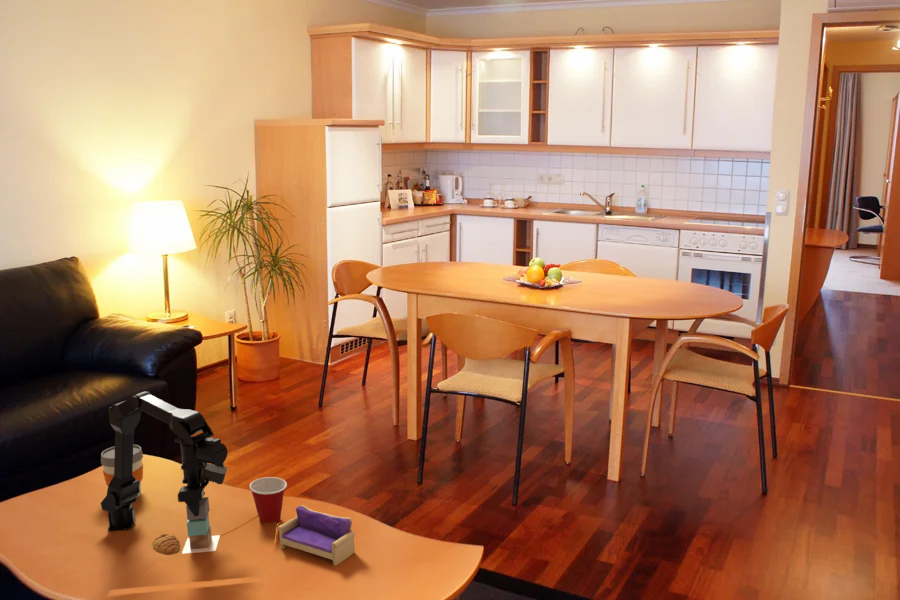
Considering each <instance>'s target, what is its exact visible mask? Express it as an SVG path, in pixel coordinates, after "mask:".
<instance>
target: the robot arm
mask: <svg viewBox="0 0 900 600" xmlns="http://www.w3.org/2000/svg"><path fill="white" fill-rule="evenodd" d="M142 412H144V413H146V414H147V415H149V416H152V417H154V418H155V419H157V420H160V421H161V422H163V423H165V424H167V425H168V426H169V428H170V430H171V432H173V433H174V434H175V435H177V437H176V438H175V439H174V442H175V443H177V444H178V443H179V444H180V451H181V453H180V454H181V465H180V470H182V474H183V478H182V484H183V486H182V487H181V488H180V489H179V491H178V492H177V502H179V503H185V504H186V505H187V506H188V507H189V509H190V510H191V512H192V513H193V515H194V516H198V515H199V506H200V500H202V499H203V497H205V495H206V492H205V488H206V487H207V486H208V484H210V482H211V483H216V485H223V483H224V481H225V477H226V473H227V470H228V468H227V466H226V465H225V463H224V462H225V461H226V459H227V457H228V448H227V447H226V445H225V444H224V443H222V440H221V438H212V437H214V436H215V434H214V433H213V430H212V428H211V426H209V424H208V422H207V421H206V419H205V417H204V415H203V414H202V413H201V412H199V411H197V410H192V409H186V408H185V409H184V408H180V407H179V408H178V407H176V406H175V405H172V404H170V403H168V402H166V401H164V400H163V399H160V398H158V397H156V396H155V395H152V394H151V392H150V391H141V392H138V393H137V394H134V395H132V396H131V397H130V398H128V399H126V400H123V401H120V402H117V403H115V404H112V405H111V406H110V407H109V408H108V420H109V425H110V426H111V427H112V429H113V430H114V446H115V459H114V476H113V478H112V480H111V481H110V483H109V485H108V486H107V491H106V496H105V497H104V498H103V499H102V501H101V502H100V506H101V509H102V510H103V511H105V512H107V515H108V517H107V518H108V524H109V525H108V527H107V531H119V530H120V531H121V530H130V529H131V528H132V527H133V525H134V524H135V521H136V512H135V507H133V503H136V502H137V498H138V497H139V496H138V493H140V490H139V485H140V482H139V481H138V480H136V479H135V477H134V476H133V474H132V470H133V444H134V435H135V432H134V431H135V429H136V428H137V426H138V425H139V422H140V421H141V416H142V415H141V414H142ZM200 432H201V433H200ZM196 434H197V435H196ZM184 484H186V485H184ZM137 496H138V497H137Z"/></svg>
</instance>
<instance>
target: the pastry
mask: <svg viewBox="0 0 900 600" xmlns="http://www.w3.org/2000/svg"><path fill="white" fill-rule="evenodd" d="M180 544H181V543H180V541H179V540H178V539H177V537H176V536H175V535H172V534H169V533H162V534H160V535H158V536H157V537H155V539H154V540H153V542H152V544H151V545H152V549H153V550H154V551H156V552H158V553H160V554H164V555H173V554H177V553H179V552H180V551H181V545H180Z"/></svg>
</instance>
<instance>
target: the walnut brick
mask: <svg viewBox="0 0 900 600" xmlns="http://www.w3.org/2000/svg"><path fill="white" fill-rule="evenodd" d="M211 528H212V527H211V525H210V527H209V530H208V533H207V535H195V536H188V538H189V539H190V549H201V548H209V547H210V543H211V540H212V536H213V535H212V529H211Z"/></svg>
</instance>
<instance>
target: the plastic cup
mask: <svg viewBox="0 0 900 600" xmlns="http://www.w3.org/2000/svg"><path fill="white" fill-rule="evenodd" d="M287 487H288V484H287V481H286V480H284V479H283V478H280V477H276V476H275V477H273V476H268V477H267V476H266V477H265V476H264V477H260V478H256V479H254V480H253V481H251V482H250V483H249V490H250V492H251V494H252V497H253V500H254V504H255V509H256V512H257V515H258V516H257V517H258V518H259V521H260V522H261V523H273V522H276V524H279V523H280V521H281V518H282V517H281V516H282V511H283V510H282V509H283V501H284V494H285V490H286V488H287Z"/></svg>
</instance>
